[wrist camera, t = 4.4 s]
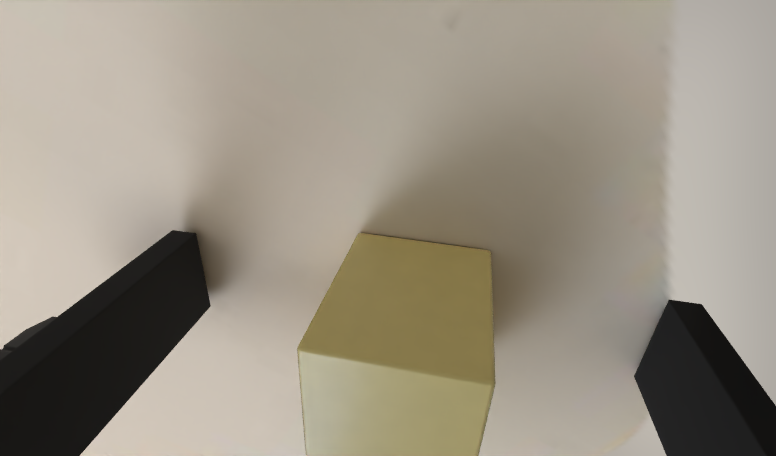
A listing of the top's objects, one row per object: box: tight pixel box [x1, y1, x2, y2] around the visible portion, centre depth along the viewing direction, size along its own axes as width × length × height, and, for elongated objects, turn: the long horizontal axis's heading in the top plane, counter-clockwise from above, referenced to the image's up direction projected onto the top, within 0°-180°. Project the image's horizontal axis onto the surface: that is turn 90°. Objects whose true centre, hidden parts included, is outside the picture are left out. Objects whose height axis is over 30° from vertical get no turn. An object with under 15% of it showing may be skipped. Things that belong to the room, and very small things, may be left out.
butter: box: [297, 233, 495, 456], centre depth 10 cm, size 4×4×4 cm
